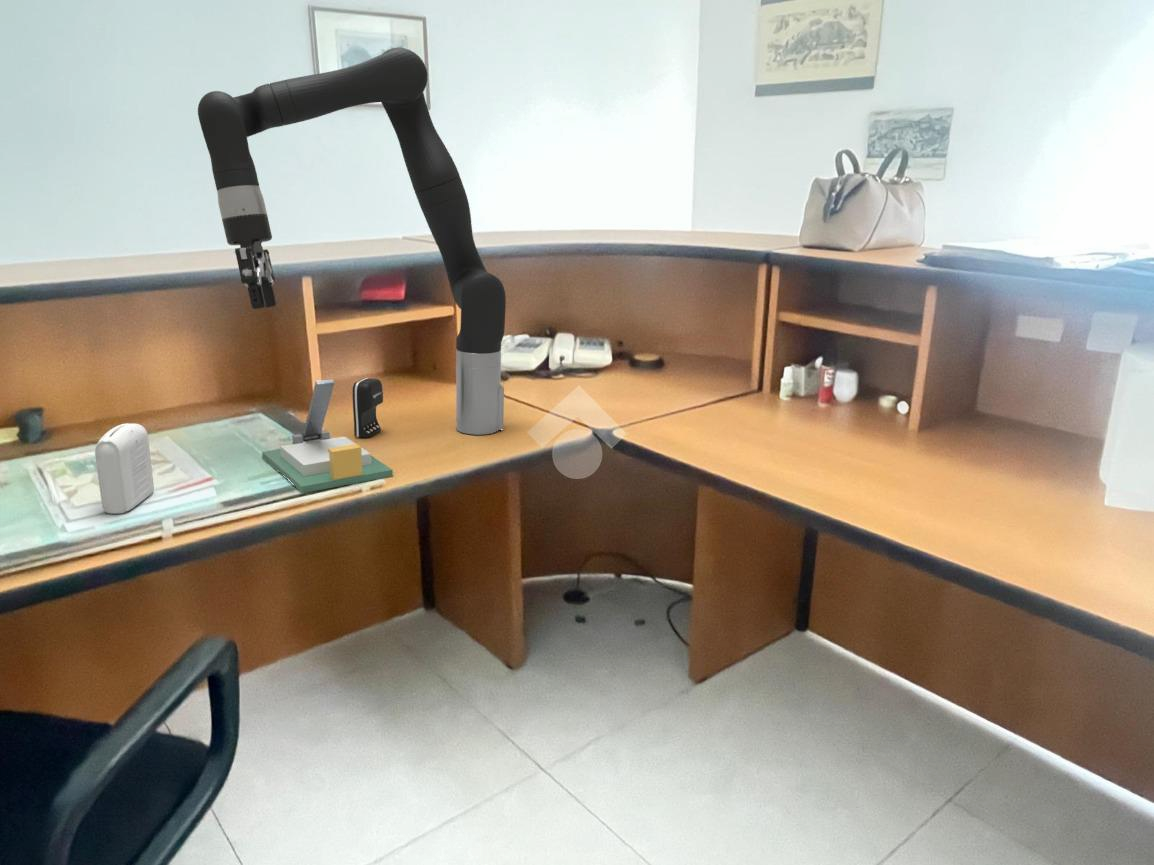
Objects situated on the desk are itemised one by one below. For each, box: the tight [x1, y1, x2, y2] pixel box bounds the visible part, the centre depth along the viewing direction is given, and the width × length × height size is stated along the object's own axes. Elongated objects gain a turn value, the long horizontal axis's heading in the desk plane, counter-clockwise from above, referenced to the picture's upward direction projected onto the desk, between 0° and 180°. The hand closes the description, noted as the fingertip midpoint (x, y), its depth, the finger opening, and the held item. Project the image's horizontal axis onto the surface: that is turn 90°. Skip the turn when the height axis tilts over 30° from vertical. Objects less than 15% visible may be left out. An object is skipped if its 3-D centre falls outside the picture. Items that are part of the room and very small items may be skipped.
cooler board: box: [261, 429, 394, 494], centre depth 143 cm, size 21×16×6 cm
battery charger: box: [352, 377, 384, 438], centre depth 162 cm, size 7×4×11 cm, turn 167°
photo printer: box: [94, 423, 155, 515], centre depth 123 cm, size 10×4×12 cm, turn 3°
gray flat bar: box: [301, 378, 335, 443], centre depth 143 cm, size 16×3×1 cm
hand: (265, 307), depth 144 cm, fingers open, 8 cm apart
